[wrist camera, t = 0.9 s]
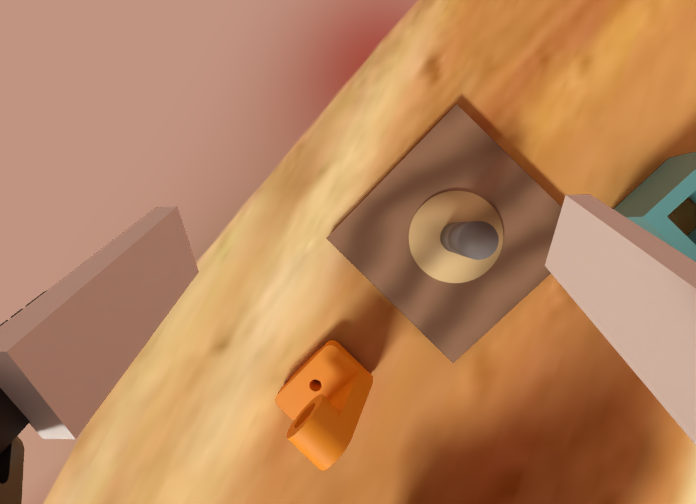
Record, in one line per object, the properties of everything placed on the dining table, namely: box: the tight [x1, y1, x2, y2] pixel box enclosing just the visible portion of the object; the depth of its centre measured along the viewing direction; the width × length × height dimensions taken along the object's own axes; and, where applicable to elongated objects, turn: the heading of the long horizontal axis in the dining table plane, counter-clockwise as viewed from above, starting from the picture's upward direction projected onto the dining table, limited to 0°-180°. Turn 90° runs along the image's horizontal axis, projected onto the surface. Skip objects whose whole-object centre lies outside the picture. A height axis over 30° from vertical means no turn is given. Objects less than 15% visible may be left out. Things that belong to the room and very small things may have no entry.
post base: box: [327, 104, 562, 363], centre depth 37 cm, size 22×22×11 cm
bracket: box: [275, 340, 373, 470], centre depth 39 cm, size 11×7×12 cm, turn 136°
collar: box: [614, 152, 696, 262], centre depth 37 cm, size 10×10×6 cm
